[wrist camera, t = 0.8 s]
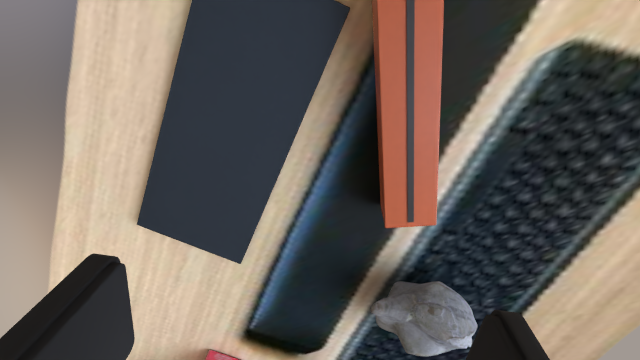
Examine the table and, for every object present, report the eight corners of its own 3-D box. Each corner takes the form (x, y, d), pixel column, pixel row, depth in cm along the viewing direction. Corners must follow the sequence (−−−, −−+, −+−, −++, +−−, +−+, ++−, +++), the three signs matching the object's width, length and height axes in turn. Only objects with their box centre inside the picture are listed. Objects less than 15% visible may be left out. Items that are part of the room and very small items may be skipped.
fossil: (350, 307, 39) (352, 374, 31) (378, 242, 35) (388, 301, 28) (444, 331, 39) (467, 402, 32) (482, 271, 36) (518, 336, 28)
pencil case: (370, -26, 25) (375, -33, 21) (430, -33, 25) (445, -42, 21) (380, 205, 33) (385, 229, 29) (425, 202, 33) (436, 226, 29)
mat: (210, -62, 25) (207, -63, 24) (350, 8, 26) (350, 8, 26) (139, 221, 35) (136, 224, 35) (241, 260, 37) (240, 264, 36)
